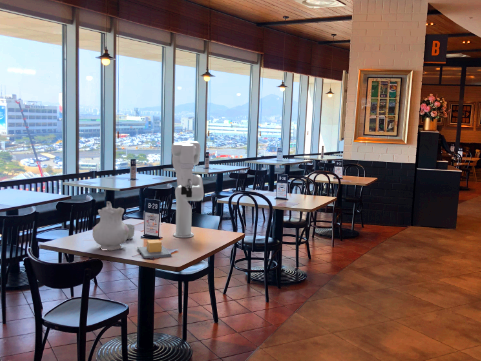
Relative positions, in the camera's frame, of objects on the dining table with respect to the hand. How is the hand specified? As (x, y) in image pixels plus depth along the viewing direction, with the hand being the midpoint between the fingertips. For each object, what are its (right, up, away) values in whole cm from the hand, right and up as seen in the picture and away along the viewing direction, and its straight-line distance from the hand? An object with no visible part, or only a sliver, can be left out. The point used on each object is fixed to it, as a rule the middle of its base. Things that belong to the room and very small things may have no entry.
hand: (186, 195), depth 270 cm
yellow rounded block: (-15, -29, -19) cm, 37 cm away
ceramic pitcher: (-41, -28, -9) cm, 51 cm away
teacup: (-39, -26, +10) cm, 48 cm away
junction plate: (-15, -30, -18) cm, 38 cm away
